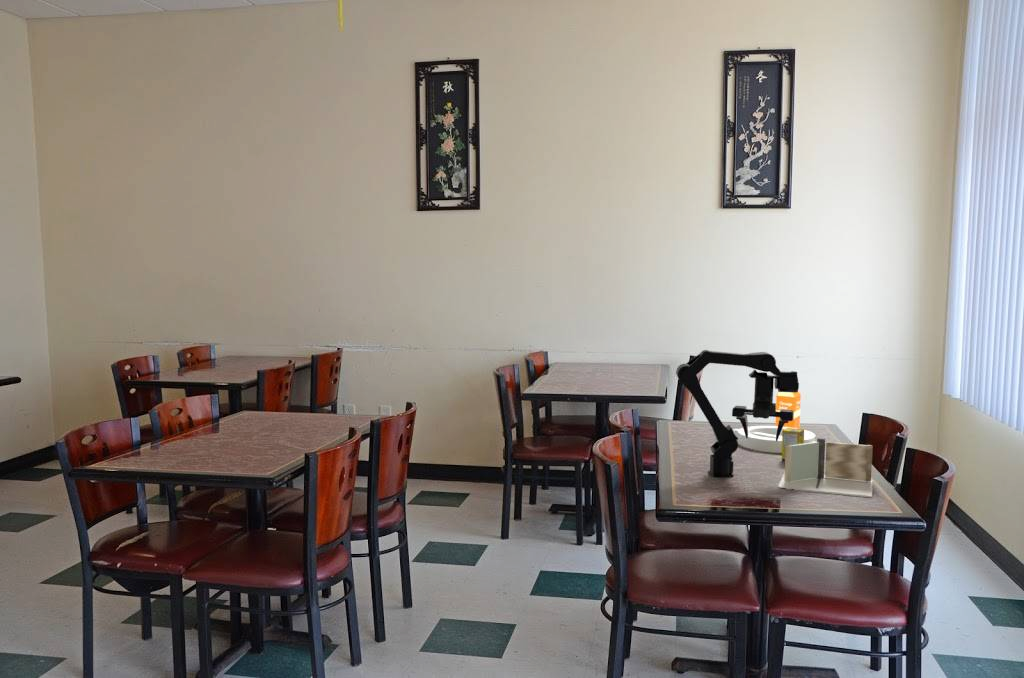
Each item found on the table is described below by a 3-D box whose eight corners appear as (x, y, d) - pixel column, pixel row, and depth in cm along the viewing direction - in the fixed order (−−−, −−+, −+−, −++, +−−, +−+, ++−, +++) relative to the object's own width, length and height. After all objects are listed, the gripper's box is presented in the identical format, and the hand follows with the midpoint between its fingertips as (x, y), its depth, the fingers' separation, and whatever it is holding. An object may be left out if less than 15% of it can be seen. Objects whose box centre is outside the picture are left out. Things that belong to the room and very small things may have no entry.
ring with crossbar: (825, 454, 312) (826, 441, 311) (747, 453, 312) (748, 440, 312) (801, 437, 340) (801, 425, 339) (729, 437, 340) (730, 425, 340)
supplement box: (803, 460, 301) (804, 429, 300) (798, 463, 296) (799, 432, 295) (786, 457, 305) (787, 427, 304) (781, 461, 300) (782, 430, 299)
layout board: (778, 488, 265) (778, 486, 265) (784, 472, 284) (784, 470, 284) (871, 497, 255) (872, 495, 254) (872, 480, 274) (872, 478, 274)
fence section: (815, 479, 275) (816, 439, 274) (816, 477, 277) (817, 437, 276) (870, 484, 269) (872, 443, 267) (871, 483, 271) (872, 442, 270)
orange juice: (799, 429, 354) (801, 381, 352) (794, 433, 347) (795, 383, 345) (780, 427, 358) (782, 379, 356) (774, 431, 351) (776, 382, 349)
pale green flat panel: (783, 481, 270) (784, 445, 269) (814, 476, 276) (815, 441, 275) (787, 482, 268) (788, 446, 267) (818, 477, 274) (819, 442, 273)
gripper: (730, 393, 273) (728, 441, 274) (792, 397, 266) (790, 447, 268) (735, 388, 283) (733, 435, 285) (794, 392, 276) (792, 440, 278)
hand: (761, 439), depth 278 cm, fingers open, 9 cm apart
